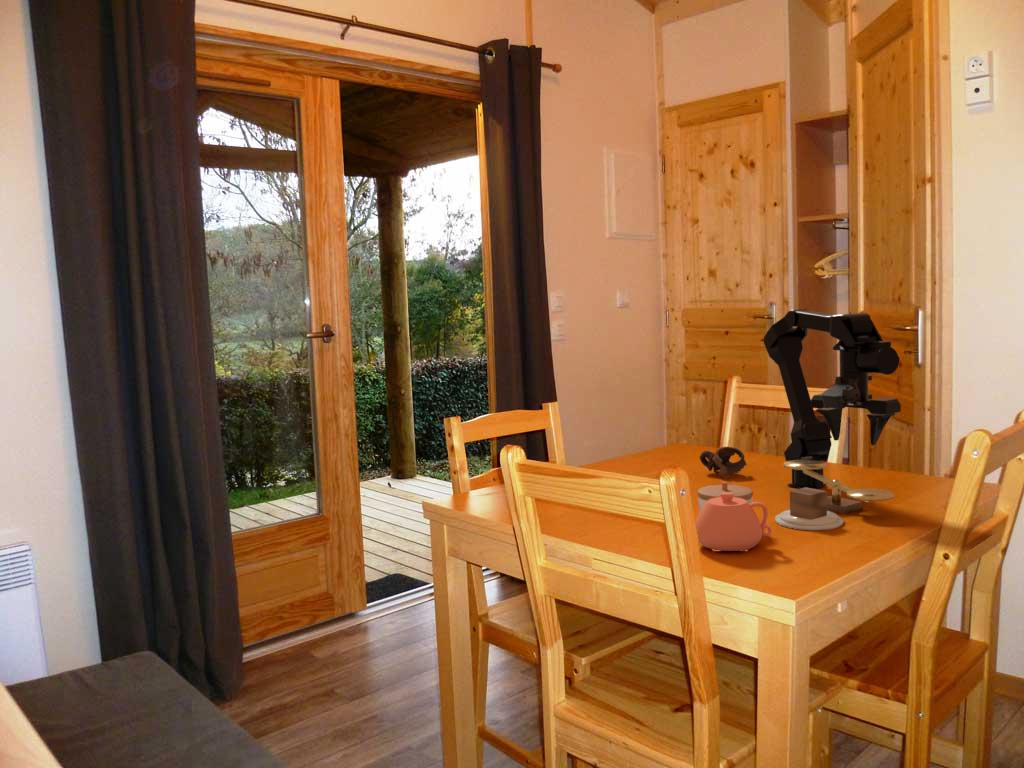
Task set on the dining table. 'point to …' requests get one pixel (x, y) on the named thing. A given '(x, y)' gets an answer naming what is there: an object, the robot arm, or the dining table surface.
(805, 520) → the dish
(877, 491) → the balance
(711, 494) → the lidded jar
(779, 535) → the dining table surface
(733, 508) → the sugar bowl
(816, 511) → the block
